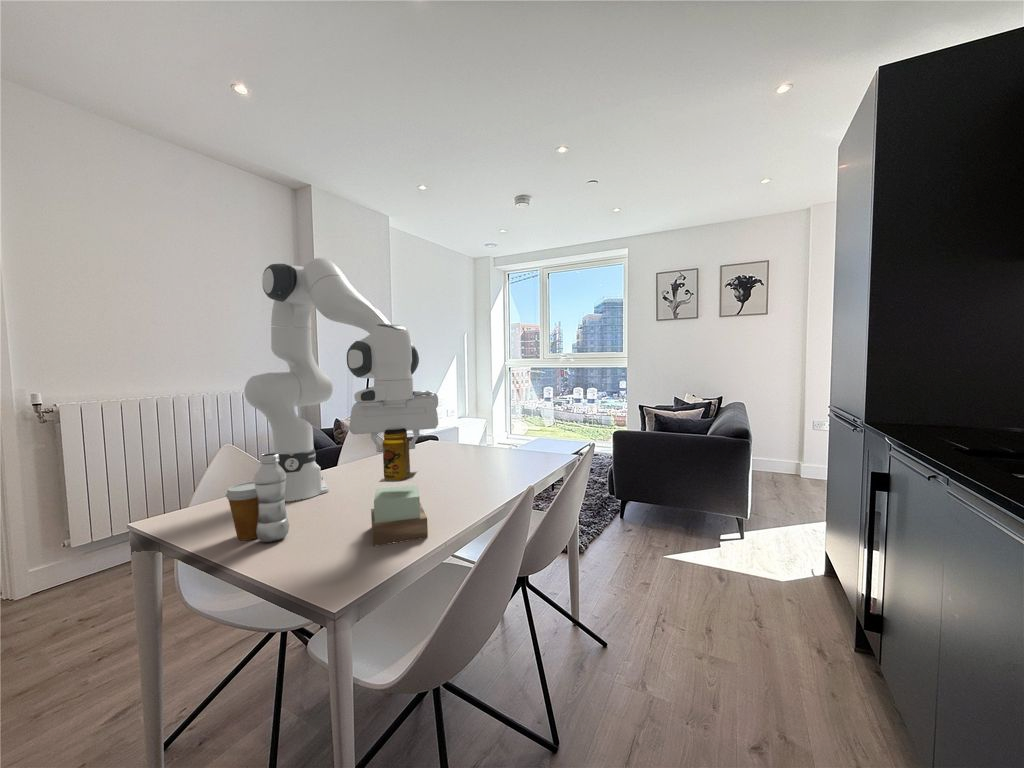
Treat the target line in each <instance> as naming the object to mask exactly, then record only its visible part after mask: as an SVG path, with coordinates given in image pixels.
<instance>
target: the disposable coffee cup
mask: <svg viewBox="0 0 1024 768" xmlns="http://www.w3.org/2000/svg"><path fill="white" fill-rule="evenodd" d="M225 497H226V499H227V500H228V503H229V508H230V512H231V515H232V516H231V517H232V520H233V524H234V530H235V534H236V537H237V540H239V541H250V540H254V539H255V540H256V539H258V538H257V534H256V527H257V522H258V501H257V494H256V489H255V484H254V480H253V481H248V482H243V483H238V484H235V485H233V486H230V487H228V488H227V491H226V494H225Z"/></svg>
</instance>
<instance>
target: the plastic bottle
mask: <svg viewBox="0 0 1024 768" xmlns="http://www.w3.org/2000/svg"><path fill="white" fill-rule="evenodd" d="M279 461H280V459H279V453H274V452H271V453H269V452H268V453H264V454H261V455H260V461H259V465H260V464H261V466H260V467H259V468H258V470H257V471H256V473H255V474H254V477H253V481H254V484H255V489H256V494H257V501H258V522H257V527H256V534H257V538H256V539H258V540H259V541H260V542H263V543H270V542H271V543H272V542H276V541H279V540H281V539H284V538H286V536H287V535H288V533H289V531H290V523H289V519H288V517H287V509H286V502H285V499H284V498H285V485H286V473H285V471H284V470H283V468H282V467H281V466H280V465H279V464H278V462H279Z"/></svg>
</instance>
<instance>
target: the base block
mask: <svg viewBox="0 0 1024 768" xmlns="http://www.w3.org/2000/svg"><path fill="white" fill-rule="evenodd" d="M370 513H371V515H370V516H371V533H372V534H371V535H372V546H373V547H378V546H377V545H380V546H384V545H383V544H386V545H389V544H388V543H392V544H394V543H393V542H398V543H401V542H400V541H404V542H407V541H406V540H411V541H413V540H412V539H417V540H420V539H419V538H423V539H427V538H426V537H428V538H429V535H428V528H429V527H428V517H427V514H426V512H425V510H424V508H423V506H422V504H421V502H420V518H415V519H407V520H398V521H390V522H382V523H375V516H374V508H371V509H370Z"/></svg>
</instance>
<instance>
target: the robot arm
mask: <svg viewBox="0 0 1024 768" xmlns="http://www.w3.org/2000/svg"><path fill="white" fill-rule="evenodd" d="M261 281H262V290H263V292H264V293H265V295H266V296H267V297H268V299H270V300H273V305H272V310H271V320H270V323H271V324H270V325H271V326H270V327H271V328H270V339H271V340H270V345H271V346H270V348H271V351H272V353H273V354H274V356H275V357H277V358H279V359H280V360H283V361H284V362H286V363H287V365H288V368H289V372H288V371H287V372H286V371H285V372H284V371H283V372H282V371H281V372H266V373H265V372H264V373H261V374H256V375H253V376H251V377H249V379H248V380H247V382H246V383H245V386H244V397H245V399H246V401H247V402H248V404H249V405H250V406H251V407H252V408H254V409H256V410H258V411H259V412H260V413H261V414H263V415H264V417H265V418H266V419H267V421H268V423H269V424H270V428H271V432H272V439H273V440H272V441H273V453H279V459H280V461H279V462H278V464H279V465H280V466H281V467H282V468H283V470H284V471H285V473H286V485H285V498H284V499H285V501H286V502H295V500H296V501H301V499H302V500H305V499H310V498H313V497H315V496H318V495H321V494H325V493H328V492H329V491H330V490H329V487H328V485H327V482H325V480H324V478H323V476H322V473H321V472H322V471H321V466H319V465H320V464H317V462H316V458H317V457H316V455H317V453H316V449H315V447H314V428H313V426H312V424H311V423H310V422H309V421H308V420H306V419H303V418H301V417H299V416H298V415H297V414H296V411H295V407H296V408H297V407H307V406H316V405H319V404H322V403H324V402H327V401H329V400H330V398H331V396H332V395H333V391H334V385H333V382H332V379H331V378H330V377H329V376H328V374H326V373H325V372H324V371H322V370H321V368H320V367H319V366H318V364H317V362H316V359H315V357H314V354H313V346H312V345H313V343H312V341H313V340H312V311H313V309H317V311H318V312H319V313H320V314H321V315H322V316H323V317H325V318H326V319H328V320H329V321H333V322H336V323H340V324H344V325H349V326H352V327H356V328H358V329H361V330H364V331H366V332H367V333H368V334H369V335H367V336H366V337H363V338H362V339H359V340H355V341H354V342H353V343H352V344H351V345H349V348H348V350H347V352H346V364H347V365H346V366H347V368H348V370H349V371H350V372H351V374H352V375H353V376H355V377H356V378H360V379H373V386H371V387H370V386H368V387H366V388H364V389H362V390H358V391H356V392H355V393H354V400H355V401H356V402H355V403H354V404H353V405H352V408H351V409H350V417H349V432H350V433H351V434H352V435H366V434H370V439H371V440H372V441H373V443H374V444H375V447H376V449H375V450H376V453H381V452H382V453H383V442H382V443H381V442H380V443H379V441H378V439H377V438H378V433H379V434H380V433H384V432H385V430H395V429H403V428H405V429H406V430H407V432H409V431H412V434H413V437H412V439H411V440H409V450H415V449H416V441H418V438H419V436H420V431H421V430H424V431H425V430H435V429H437V427H438V426H439V417H438V411H437V408H438V406H439V396H438V395H437V393H435V392H432V391H431V390H426V391H422V390H421V391H420V390H417V391H414V384H413V383H414V382H413V381H414V380H413V374H415V372H416V371H417V368H418V367H419V363H420V358H419V357H420V356H419V353H418V350H417V348H416V347H415V345H413V343H412V342H411V341H412V340H411V336H410V333H409V330H408V328H407V327H405V326H403V325H400V324H391V322H389V319H387V318H386V317H385V316H384V314H383V313H382V311H380V309H378V308H377V307H376V306H375V305H374V304H372V303H371V302H369V301H368V300H367V299H366V298H365V297H364V296H363V295H362V294H361V293H359V292H358V291H357V290H356V289H355V288H354V286H353V285H352V284H351V282H350V281H349V279H348V277H347V276H346V275H345V273H344V272H343V271H342V270H341V269H340V268H339V267H338V266H337V265H336V264H335V263H334V262H333V261H331V260H330V259H327V258H324V257H316V258H313V259H310V260H309V261H307V262H306V264H304V266H300V265H293V264H291V265H290V264H286V263H272V264H268V265H267V267H265V269H264V271H263V274H262V280H261Z"/></svg>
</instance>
